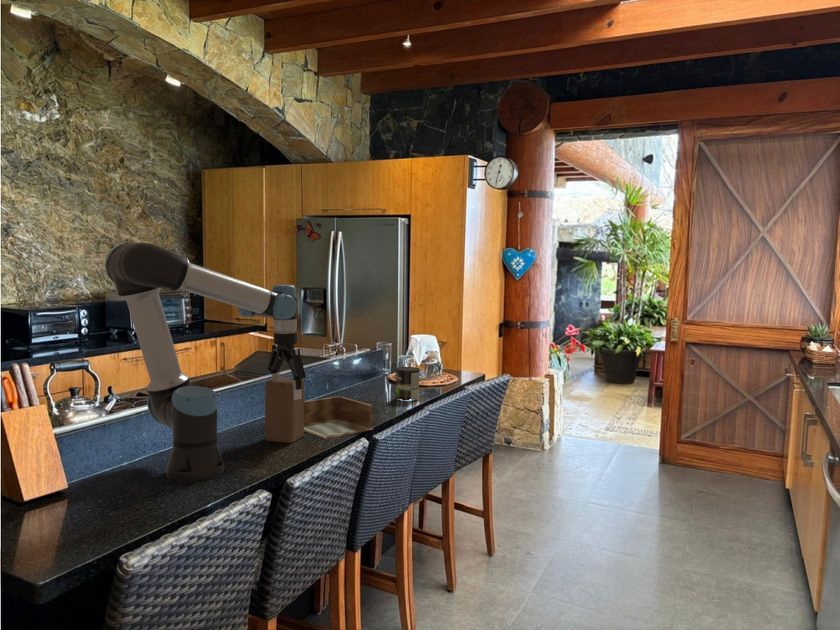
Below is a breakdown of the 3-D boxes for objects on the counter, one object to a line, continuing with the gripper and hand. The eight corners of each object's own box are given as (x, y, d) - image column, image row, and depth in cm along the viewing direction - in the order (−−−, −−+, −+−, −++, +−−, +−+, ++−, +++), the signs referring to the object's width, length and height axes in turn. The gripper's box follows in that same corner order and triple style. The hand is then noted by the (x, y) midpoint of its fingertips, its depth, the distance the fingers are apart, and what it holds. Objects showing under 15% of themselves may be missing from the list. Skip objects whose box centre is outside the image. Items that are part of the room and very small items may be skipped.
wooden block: (292, 444, 206) (292, 383, 205) (263, 441, 208) (263, 381, 207) (305, 436, 216) (305, 377, 214) (277, 434, 218) (277, 376, 217)
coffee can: (399, 404, 269) (399, 370, 268) (392, 399, 279) (393, 366, 278) (422, 402, 272) (423, 370, 271) (415, 398, 282) (415, 366, 281)
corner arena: (325, 439, 212) (325, 413, 211) (293, 427, 227) (293, 402, 226) (372, 430, 225) (373, 405, 225) (340, 419, 240) (340, 395, 240)
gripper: (316, 334, 203) (316, 400, 205) (276, 327, 221) (277, 388, 223) (295, 336, 198) (296, 404, 200) (256, 329, 216) (257, 391, 218)
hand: (286, 396), depth 211 cm, fingers closed on wooden block, 13 cm apart
